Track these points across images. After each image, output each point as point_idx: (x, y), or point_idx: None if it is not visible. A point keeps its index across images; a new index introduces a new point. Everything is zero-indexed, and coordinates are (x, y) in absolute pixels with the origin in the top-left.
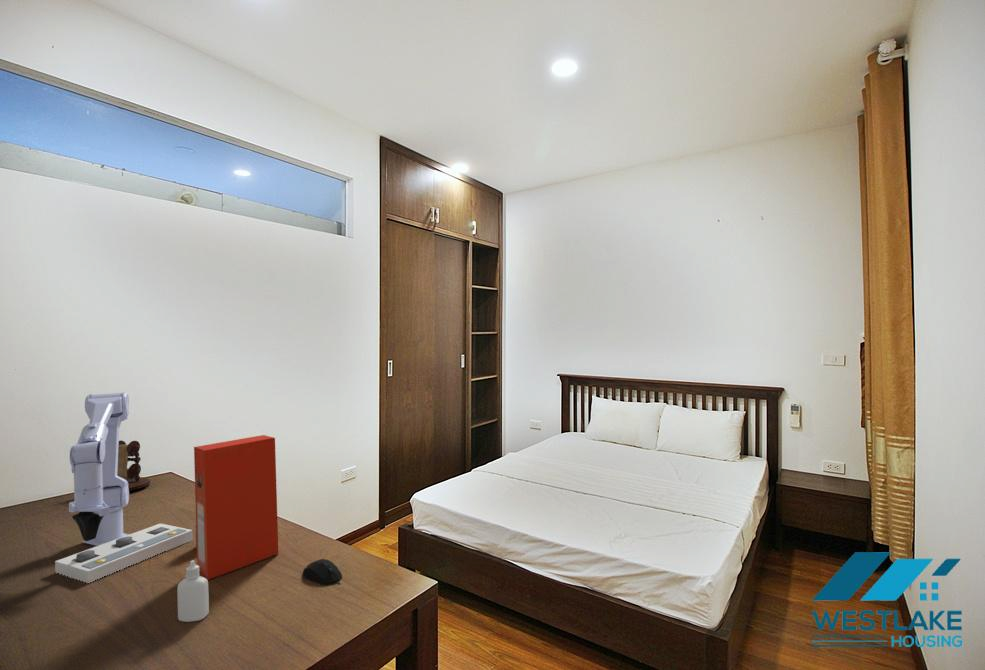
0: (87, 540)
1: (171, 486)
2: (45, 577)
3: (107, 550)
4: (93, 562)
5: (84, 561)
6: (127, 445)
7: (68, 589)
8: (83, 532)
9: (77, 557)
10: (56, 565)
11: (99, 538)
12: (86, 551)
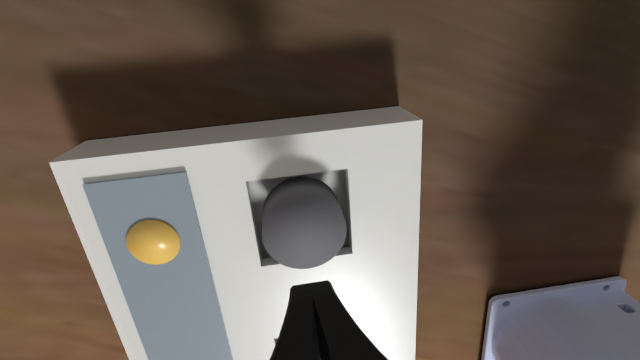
0: (290, 292)
1: None
2: (389, 60)
3: None
4: (167, 218)
5: (266, 202)
6: None
7: (96, 62)
8: (306, 328)
9: (297, 192)
10: (401, 116)
11: (537, 322)
12: (331, 244)
